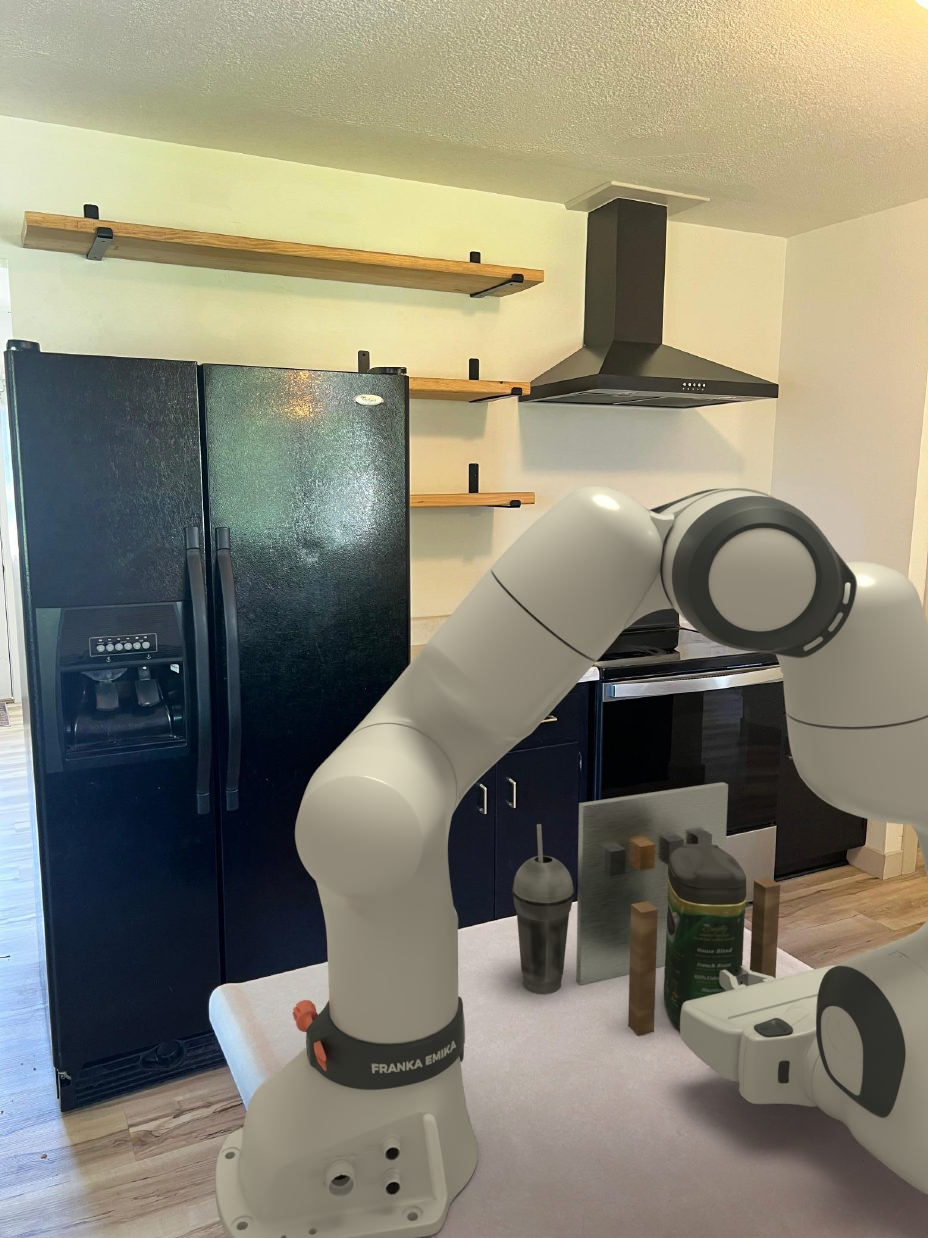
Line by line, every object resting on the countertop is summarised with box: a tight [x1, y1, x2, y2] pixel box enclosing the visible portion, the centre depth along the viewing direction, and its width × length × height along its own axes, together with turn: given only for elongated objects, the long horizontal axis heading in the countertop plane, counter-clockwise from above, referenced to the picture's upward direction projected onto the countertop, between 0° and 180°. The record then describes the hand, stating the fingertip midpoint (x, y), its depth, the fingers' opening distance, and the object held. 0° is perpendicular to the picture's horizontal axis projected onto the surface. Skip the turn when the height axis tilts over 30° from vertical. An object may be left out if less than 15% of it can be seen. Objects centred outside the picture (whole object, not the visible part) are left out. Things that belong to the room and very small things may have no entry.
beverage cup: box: [511, 823, 575, 995], centre depth 104 cm, size 7×7×20 cm
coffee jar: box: [663, 844, 747, 1028], centre depth 99 cm, size 10×8×19 cm
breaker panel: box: [575, 781, 729, 986], centre depth 107 cm, size 20×2×22 cm, turn 111°
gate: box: [627, 877, 781, 1037], centre depth 99 cm, size 18×2×14 cm, turn 111°
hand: (730, 974), depth 95 cm, fingers closed
